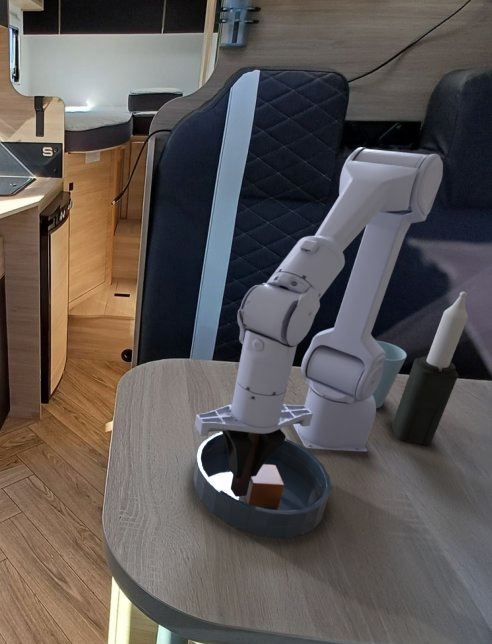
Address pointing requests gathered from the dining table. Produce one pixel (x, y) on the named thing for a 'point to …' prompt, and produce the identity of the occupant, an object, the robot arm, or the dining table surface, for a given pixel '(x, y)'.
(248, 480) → the stick
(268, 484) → the block
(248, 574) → the dining table surface
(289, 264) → the robot arm
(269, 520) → the bowl
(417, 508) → the dining table surface
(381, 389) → the cup
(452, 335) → the candle
